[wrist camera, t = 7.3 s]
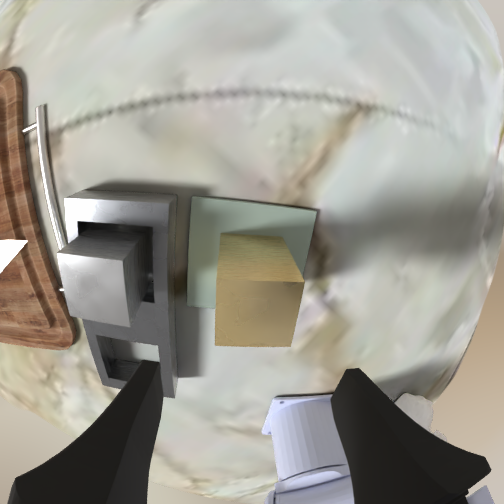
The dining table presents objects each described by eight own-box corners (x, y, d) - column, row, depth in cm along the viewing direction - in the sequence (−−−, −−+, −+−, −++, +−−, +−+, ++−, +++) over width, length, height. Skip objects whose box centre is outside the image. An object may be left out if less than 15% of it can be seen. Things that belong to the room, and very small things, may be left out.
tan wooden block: (282, 236, 18) (304, 281, 12) (274, 289, 19) (290, 346, 14) (220, 233, 17) (216, 278, 12) (218, 287, 19) (215, 345, 13)
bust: (386, 415, 34) (438, 440, 26) (361, 448, 30) (419, 477, 22) (409, 369, 30) (474, 397, 22) (385, 407, 25) (459, 441, 17)
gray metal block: (154, 222, 17) (122, 260, 12) (154, 275, 19) (130, 327, 13) (101, 218, 17) (56, 252, 11) (105, 269, 18) (70, 315, 13)
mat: (315, 210, 18) (316, 211, 17) (292, 310, 21) (293, 313, 20) (192, 196, 17) (191, 197, 16) (187, 302, 20) (186, 305, 19)
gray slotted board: (177, 194, 17) (168, 203, 14) (178, 378, 23) (174, 398, 21) (83, 189, 16) (64, 198, 13) (110, 366, 22) (102, 385, 20)
